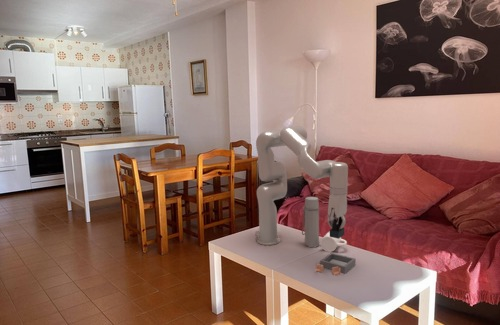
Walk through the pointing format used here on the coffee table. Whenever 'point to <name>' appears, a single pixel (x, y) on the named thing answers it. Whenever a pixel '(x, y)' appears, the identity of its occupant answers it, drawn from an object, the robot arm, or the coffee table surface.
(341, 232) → the watch
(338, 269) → the clip
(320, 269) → the clip
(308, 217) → the water bottle
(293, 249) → the coffee table surface
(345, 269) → the holder
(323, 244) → the mug
